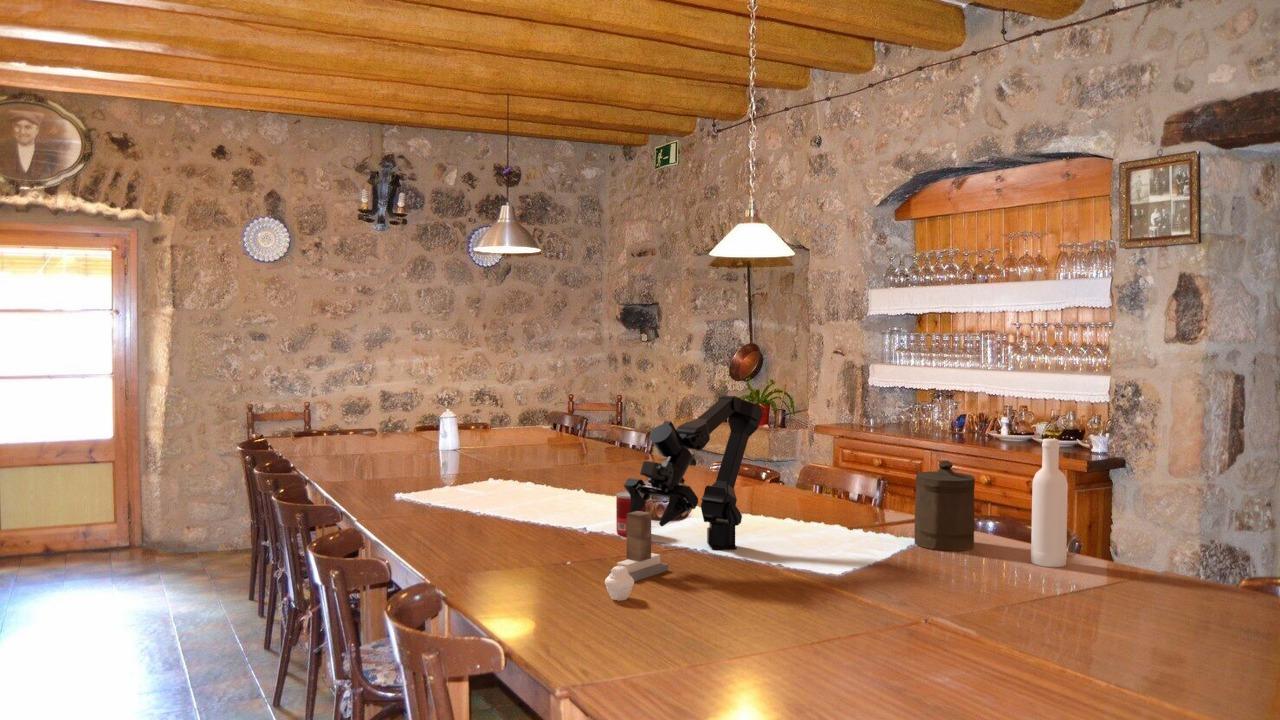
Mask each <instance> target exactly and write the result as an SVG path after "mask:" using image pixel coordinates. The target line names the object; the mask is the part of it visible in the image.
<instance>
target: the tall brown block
mask: <svg viewBox="0 0 1280 720" xmlns="http://www.w3.org/2000/svg"><path fill="white" fill-rule="evenodd" d="M651 553H652V512H647V511H646V512H642V511H635V512H631V513H627V537H626V560H628V559H630V560H634V561H639V562H641V561H644V560H647V559H651Z"/></svg>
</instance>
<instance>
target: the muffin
mask: <svg viewBox="0 0 1280 720" xmlns="http://www.w3.org/2000/svg"><path fill="white" fill-rule="evenodd" d="M610 570H611V573H610V574H609V573H608V576H607V577H606V578H605V580H604V585H605V586H606V590H607V592H608V594H609V597H610V598H611V600H613V601H616V600H617V601H627V600H628V598H629V595H630V594H631V592H632V589H633V586H634V584H635V582H634V579H633V578H632V577H631V576H630V575H629V573H628V570H627V568H625V567H623V566H617V565H615V566H614V567H612V569H610ZM617 601H616V602H617Z"/></svg>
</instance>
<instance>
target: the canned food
mask: <svg viewBox="0 0 1280 720" xmlns="http://www.w3.org/2000/svg"><path fill="white" fill-rule="evenodd" d="M615 498H616V502H615V503H616V505H615V507H616V512H615V513H616V515H615V517H616V523H615V524H616V533H617V535H618V536H620V537H626V538H627V513H629V509H630V498H631V497H630V494H629V493H628V491H627V490H626V491H620V492H617V493H616V497H615ZM646 501H647V500H646ZM646 501H645V502H646ZM646 505H647V502H646V504H645V506H644V507H643V508H642V509H641V511H642V512H647V509H646Z"/></svg>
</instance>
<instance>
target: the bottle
mask: <svg viewBox="0 0 1280 720" xmlns="http://www.w3.org/2000/svg"><path fill="white" fill-rule="evenodd" d="M1041 448H1042V456H1041V457H1042V459H1041V468H1040V469H1039V470H1038V471H1036V472H1035V474H1034V477H1033V479H1032V483H1031V484H1032V487H1031V488H1032V491H1031V492H1032V493H1031V537H1030V538H1031V540H1030V541H1031V542H1030V543H1031V544H1030V562H1031V564H1033V565H1035V566H1039V567H1043V568H1063V567H1065V566H1066V565H1067V556H1068V555H1067V554H1068V553H1067V541H1068V540H1067V538H1068V536H1067V535H1068V532H1067V531H1068V526H1067V525H1068V490H1069V489H1068V488H1069V486H1068V485H1069V484H1068V480H1067V478H1066V475H1065V474H1064V473H1063V471H1062V470H1060V468H1059V463H1060V461H1059V460H1060V459H1059V458H1060V440H1059V439H1057V438H1043V439H1042V443H1041Z"/></svg>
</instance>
